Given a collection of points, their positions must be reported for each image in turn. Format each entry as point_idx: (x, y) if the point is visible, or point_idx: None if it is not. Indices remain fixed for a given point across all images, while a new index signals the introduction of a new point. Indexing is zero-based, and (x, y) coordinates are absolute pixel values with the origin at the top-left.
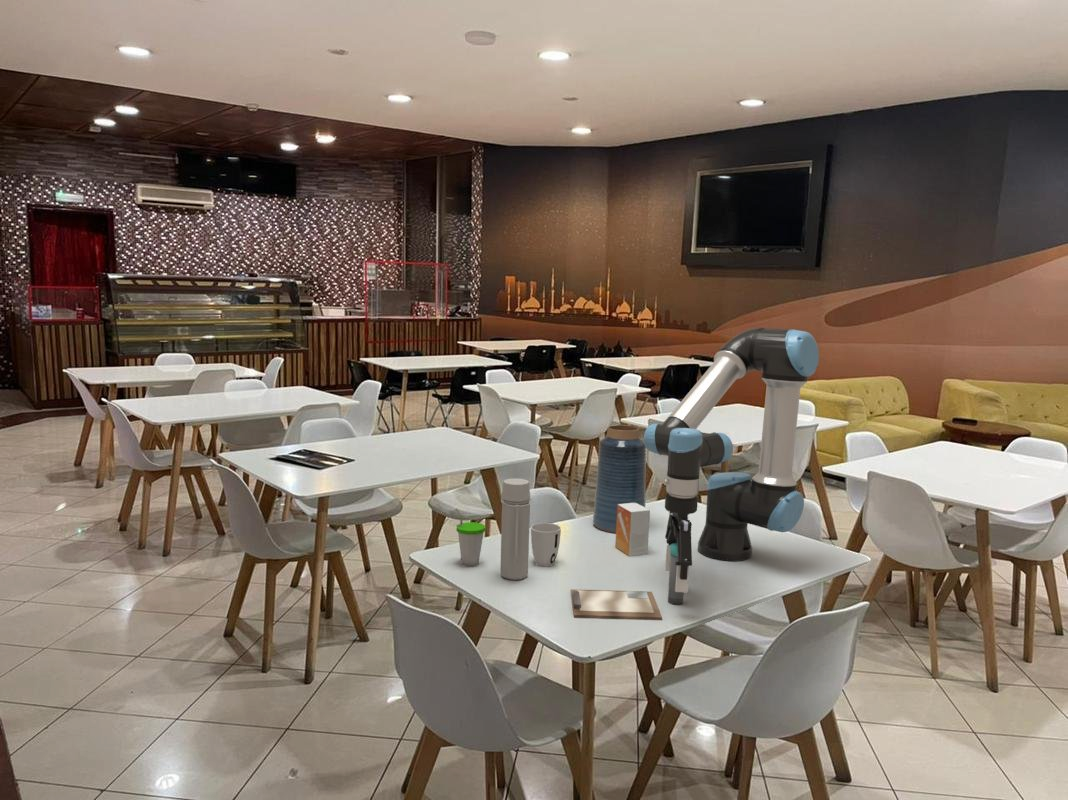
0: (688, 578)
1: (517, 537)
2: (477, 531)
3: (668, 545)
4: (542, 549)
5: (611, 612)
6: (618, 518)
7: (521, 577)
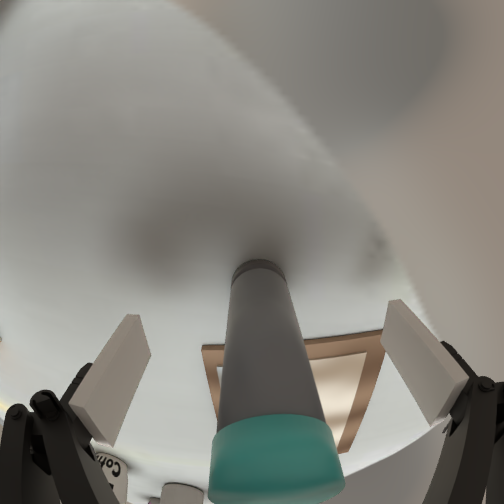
0: (431, 333)
1: None
2: None
3: (107, 443)
4: (126, 492)
5: (347, 419)
6: None
7: (198, 491)
